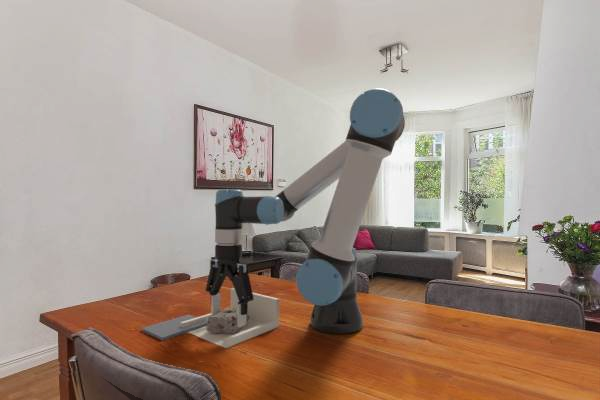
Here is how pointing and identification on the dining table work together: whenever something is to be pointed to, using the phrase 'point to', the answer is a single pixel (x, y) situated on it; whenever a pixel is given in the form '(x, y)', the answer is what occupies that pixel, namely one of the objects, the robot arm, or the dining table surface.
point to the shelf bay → (260, 321)
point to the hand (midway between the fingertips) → (228, 321)
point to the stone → (224, 322)
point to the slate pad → (172, 327)
